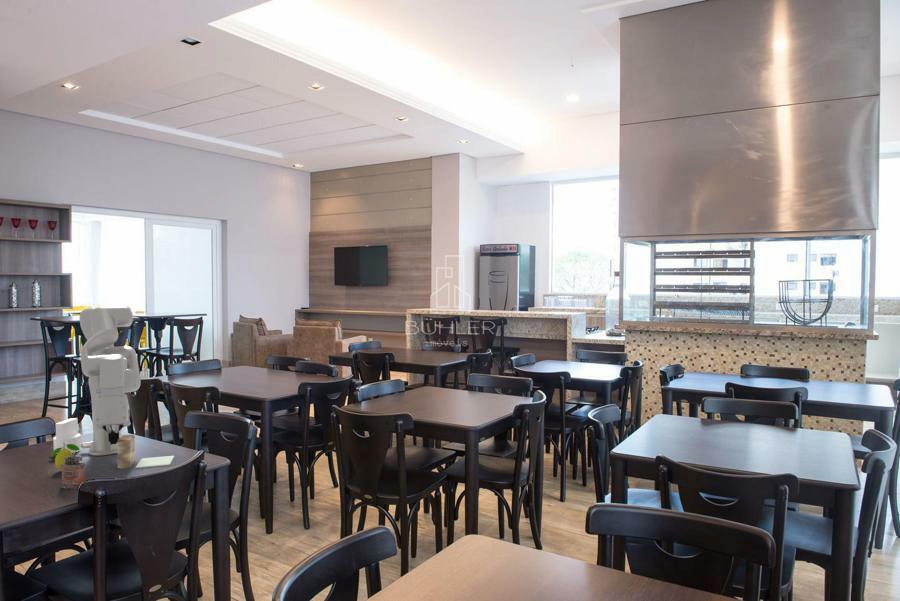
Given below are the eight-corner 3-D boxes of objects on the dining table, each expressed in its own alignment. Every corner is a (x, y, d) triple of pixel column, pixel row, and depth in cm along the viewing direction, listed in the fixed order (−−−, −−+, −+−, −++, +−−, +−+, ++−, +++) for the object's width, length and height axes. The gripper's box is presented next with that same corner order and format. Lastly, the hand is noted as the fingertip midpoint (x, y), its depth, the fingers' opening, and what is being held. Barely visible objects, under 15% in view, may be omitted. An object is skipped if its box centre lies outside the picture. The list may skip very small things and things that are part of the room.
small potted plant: (58, 487, 190) (57, 456, 190) (67, 484, 194) (66, 453, 193) (79, 489, 188) (78, 458, 188) (88, 486, 192) (87, 455, 191)
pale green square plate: (135, 468, 209) (135, 467, 209) (141, 459, 220) (141, 458, 220) (169, 465, 212) (169, 464, 212) (174, 456, 223) (174, 455, 223)
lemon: (80, 468, 210) (79, 440, 209) (65, 474, 204) (64, 445, 204) (65, 467, 212) (64, 439, 211) (50, 472, 206) (49, 443, 206)
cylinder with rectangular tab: (71, 454, 227) (70, 423, 227) (48, 455, 227) (47, 423, 227) (86, 448, 236) (85, 418, 236) (63, 448, 236) (63, 418, 236)
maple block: (117, 468, 209) (117, 440, 209) (122, 462, 216) (122, 435, 216) (130, 467, 211) (130, 439, 210) (134, 461, 217) (134, 434, 217)
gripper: (85, 395, 206) (87, 448, 206) (133, 392, 210) (134, 444, 210) (91, 391, 213) (93, 442, 213) (138, 388, 217) (139, 439, 217)
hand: (114, 443), depth 212 cm, fingers closed
